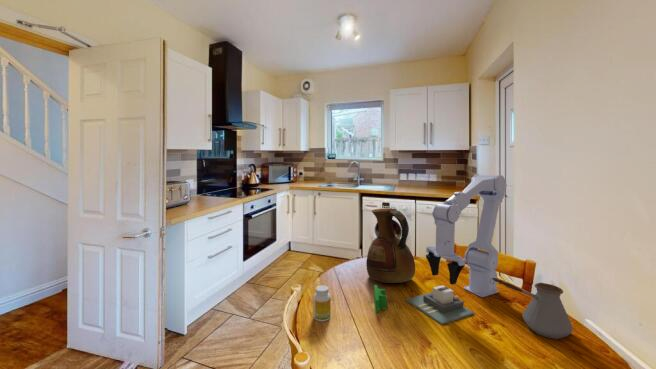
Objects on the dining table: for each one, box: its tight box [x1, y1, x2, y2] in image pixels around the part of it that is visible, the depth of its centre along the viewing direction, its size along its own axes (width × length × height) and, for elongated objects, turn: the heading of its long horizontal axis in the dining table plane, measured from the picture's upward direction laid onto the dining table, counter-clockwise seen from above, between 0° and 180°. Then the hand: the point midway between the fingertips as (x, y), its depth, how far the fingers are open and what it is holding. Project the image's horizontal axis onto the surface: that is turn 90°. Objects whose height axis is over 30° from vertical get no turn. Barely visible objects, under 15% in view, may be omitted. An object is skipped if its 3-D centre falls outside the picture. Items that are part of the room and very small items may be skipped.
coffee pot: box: [490, 278, 574, 340], centre depth 80 cm, size 21×12×15 cm, turn 82°
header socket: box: [405, 291, 475, 326], centre depth 93 cm, size 14×16×4 cm
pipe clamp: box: [373, 284, 388, 314], centre depth 95 cm, size 11×4×5 cm, turn 173°
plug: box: [432, 285, 454, 305], centre depth 94 cm, size 4×4×6 cm
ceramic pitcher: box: [365, 207, 416, 284], centre depth 114 cm, size 20×20×30 cm
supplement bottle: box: [313, 284, 332, 322], centre depth 87 cm, size 5×5×10 cm
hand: (443, 279), depth 93 cm, fingers open, 7 cm apart
